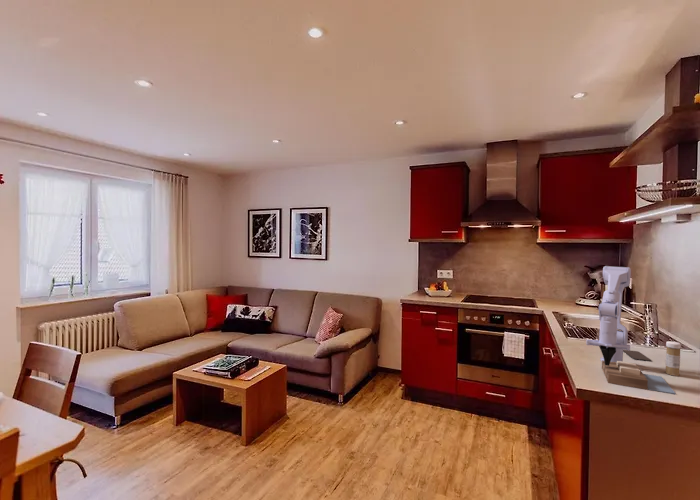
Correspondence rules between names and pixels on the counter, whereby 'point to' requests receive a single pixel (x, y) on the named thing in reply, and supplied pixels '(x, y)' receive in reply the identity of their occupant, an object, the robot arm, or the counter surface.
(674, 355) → the sprinkles bottle
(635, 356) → the smartphone
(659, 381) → the mat
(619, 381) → the deck
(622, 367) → the cream block
